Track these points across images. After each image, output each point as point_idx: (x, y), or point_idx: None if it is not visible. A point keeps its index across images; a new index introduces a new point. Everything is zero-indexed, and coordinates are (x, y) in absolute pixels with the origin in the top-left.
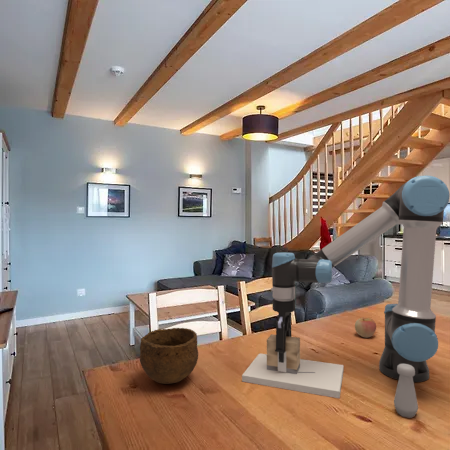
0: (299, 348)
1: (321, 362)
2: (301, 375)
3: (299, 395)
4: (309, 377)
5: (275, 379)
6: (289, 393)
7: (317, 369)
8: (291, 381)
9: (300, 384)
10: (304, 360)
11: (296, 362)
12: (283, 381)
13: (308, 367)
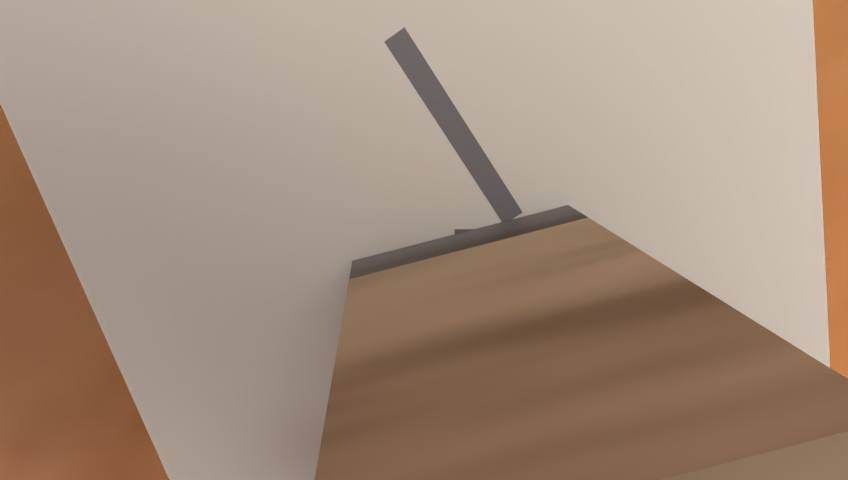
0: (391, 374)
1: (11, 83)
2: (567, 146)
3: (839, 30)
4: (572, 38)
5: (799, 330)
6: (839, 132)
7: (279, 41)
8: (772, 174)
9: (800, 55)
10: (119, 302)
11: (630, 247)
12: (805, 245)
13: (297, 169)
